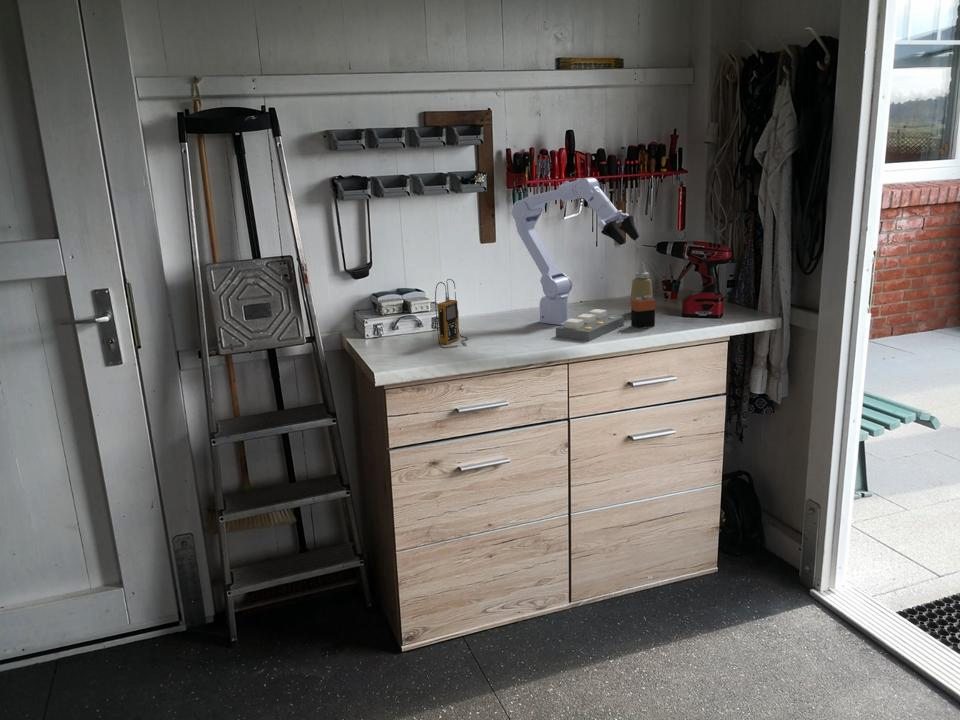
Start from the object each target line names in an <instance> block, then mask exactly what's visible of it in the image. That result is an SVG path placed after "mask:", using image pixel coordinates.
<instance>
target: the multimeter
mask: <svg viewBox="0 0 960 720" xmlns="http://www.w3.org/2000/svg"><path fill="white" fill-rule="evenodd" d="M448 281H452V283H453V285H454V288H456V283H455V281H454V280H453V279H452V278H448V279H446V284H445V283H444V282H442V281H439V282H437V284H436V286H435V292H434V293H435V296H434V303H435V305H434V306H435V319H436V331H437V338H438V339H437V340H438V344H439V347H440V348H441V349H450V348H449V347H451V348H457V347H460V346H462V344H464V346H468V344H467V342H465V341H467V340H468V339H469V338H468V337H467V336H462V335H461V334H460V328H459V327H460V326H459V325H460V323H459V308H458V306H459V305H458V300H457V295H456V293H454V299H450V293H449V284H448ZM439 284H443V285H444V288H445V290H446V292H445V298H444V299H445V301H442V302H438V304H437V289H438V288H437V287H438V285H439ZM460 337H461V338H465V339H461V342H462V344H455V345H450V346H446V347H445V346H444V347H443V346H442V345H449V344H450V343H453V342H456V341H459V339H460ZM441 344H442V345H441Z"/></svg>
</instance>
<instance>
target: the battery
mask: <svg viewBox="0 0 960 720" xmlns="http://www.w3.org/2000/svg"><path fill="white" fill-rule="evenodd" d="M644 297H645V298H641V297H636V299H632V301H631V304H630V307H631V309H630V313H631V315H630V325H631V326H632V327H634V328H636V329H641V328H651V327H655V324H656V323H655V322H656V299H655V298H653V299H652V298H650V297H651V296H644Z"/></svg>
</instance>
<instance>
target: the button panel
mask: <svg viewBox="0 0 960 720" xmlns="http://www.w3.org/2000/svg"><path fill="white" fill-rule="evenodd" d="M624 320H625V317H624V316H622V315H611V314H607V317H605V318H602V319H597V318H596V321H595V322H593V323H591V324H586V323H584V327H581V328H579V329H572V328H565V324H564V325H558V326H557V327H555V337H556V336H557V337H556V338H561V337H564V338H563V339H568V338H571V339H570V340H576V339H579V340H578V341H583V340H586V341H585V342H591V341H593V340H595V339H597V338H599V337H602V336H604V335H606V334H608V333H611V332H612V331H615V330H616V328H617V329H619V328H621V327H623V326H624V325H625V321H624ZM620 326H621V327H620ZM618 327H619V328H618ZM614 329H615V330H614ZM607 332H608V333H607ZM605 333H606V334H605ZM603 334H604V335H603ZM601 335H602V336H601ZM592 339H593V340H592ZM590 340H591V341H590Z"/></svg>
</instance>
